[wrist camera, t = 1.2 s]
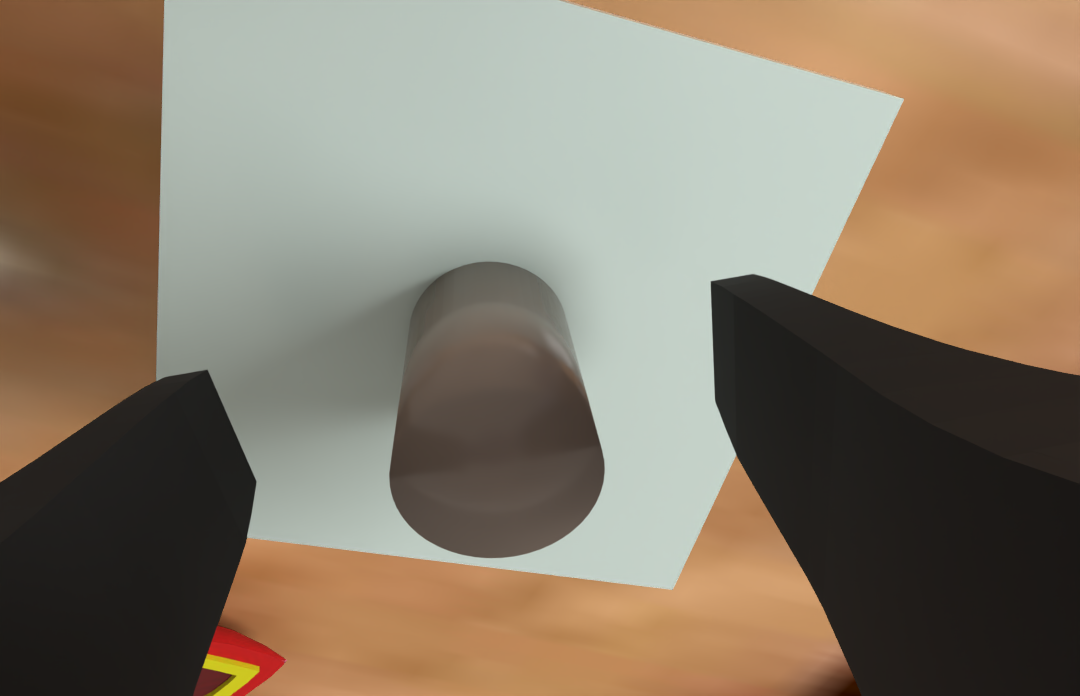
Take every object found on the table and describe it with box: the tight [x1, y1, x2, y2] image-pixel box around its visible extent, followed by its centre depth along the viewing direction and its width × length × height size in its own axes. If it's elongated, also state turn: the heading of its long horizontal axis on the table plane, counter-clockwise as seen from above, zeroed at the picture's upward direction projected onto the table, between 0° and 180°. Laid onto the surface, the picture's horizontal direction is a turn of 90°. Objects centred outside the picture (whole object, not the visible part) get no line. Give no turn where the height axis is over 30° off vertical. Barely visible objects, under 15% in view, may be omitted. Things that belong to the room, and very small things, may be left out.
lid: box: [156, 0, 904, 590], centre depth 12 cm, size 11×11×5 cm
